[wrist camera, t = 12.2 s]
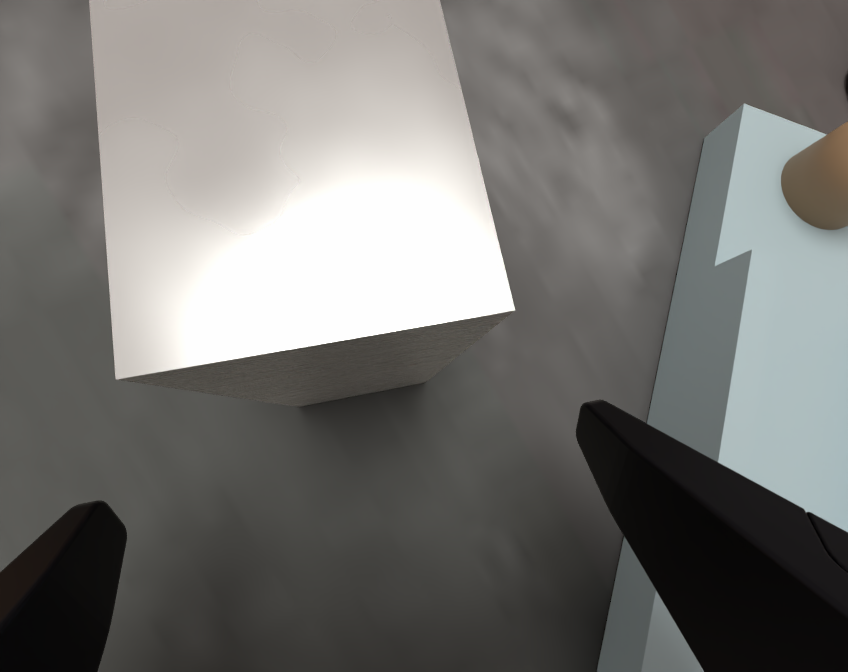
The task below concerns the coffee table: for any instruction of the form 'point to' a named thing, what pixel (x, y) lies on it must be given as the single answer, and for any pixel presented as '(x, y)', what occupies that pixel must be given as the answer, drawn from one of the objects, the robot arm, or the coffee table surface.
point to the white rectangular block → (289, 197)
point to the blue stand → (751, 345)
